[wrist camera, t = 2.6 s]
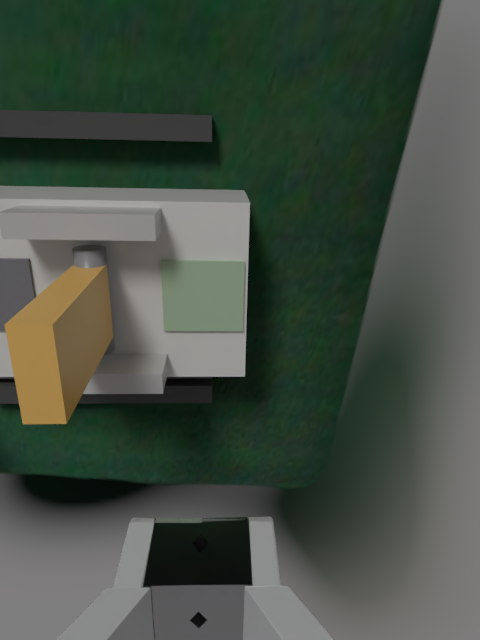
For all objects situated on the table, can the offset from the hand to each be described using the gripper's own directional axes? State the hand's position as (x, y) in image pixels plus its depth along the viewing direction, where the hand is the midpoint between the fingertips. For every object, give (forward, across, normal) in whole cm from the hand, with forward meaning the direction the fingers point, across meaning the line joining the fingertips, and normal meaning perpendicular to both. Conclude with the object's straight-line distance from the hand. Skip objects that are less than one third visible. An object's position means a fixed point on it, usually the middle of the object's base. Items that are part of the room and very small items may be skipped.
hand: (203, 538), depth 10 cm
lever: (+15, +6, 0) cm, 16 cm away
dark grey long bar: (+22, +8, -9) cm, 25 cm away
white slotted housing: (+22, +6, 0) cm, 23 cm away
